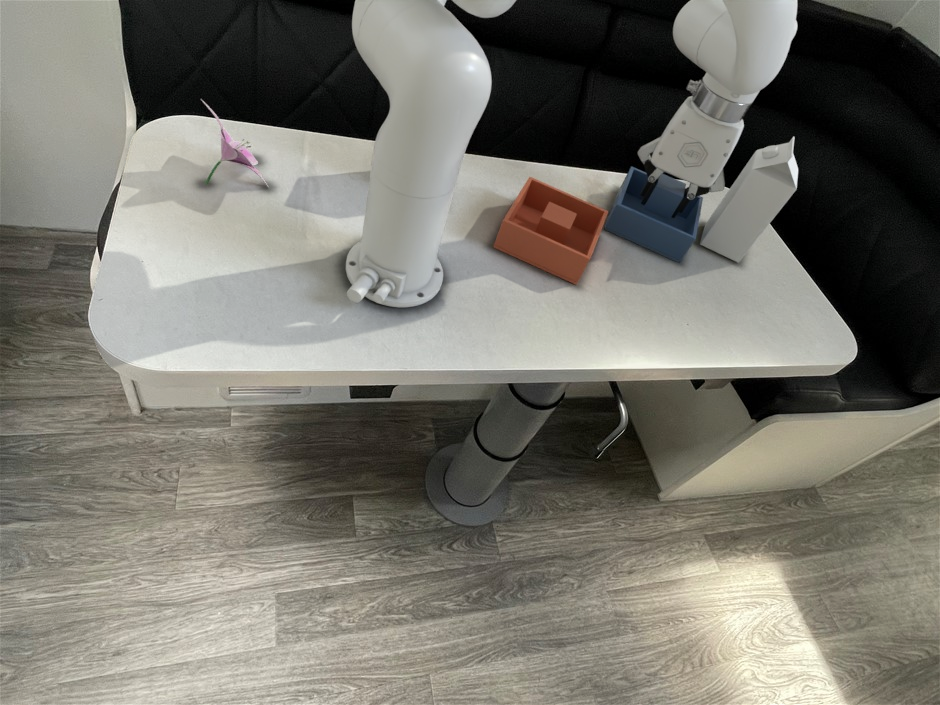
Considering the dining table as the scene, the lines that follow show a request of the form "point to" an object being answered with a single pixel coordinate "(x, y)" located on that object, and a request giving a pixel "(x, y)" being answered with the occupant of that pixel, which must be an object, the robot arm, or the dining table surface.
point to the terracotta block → (555, 222)
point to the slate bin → (652, 220)
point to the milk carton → (752, 201)
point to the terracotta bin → (541, 250)
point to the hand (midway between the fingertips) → (659, 206)
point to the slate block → (665, 196)
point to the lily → (233, 151)
